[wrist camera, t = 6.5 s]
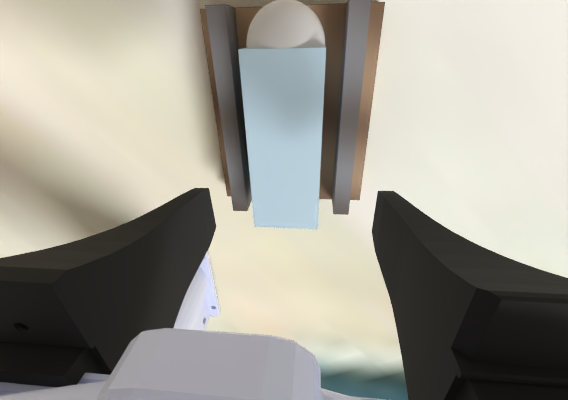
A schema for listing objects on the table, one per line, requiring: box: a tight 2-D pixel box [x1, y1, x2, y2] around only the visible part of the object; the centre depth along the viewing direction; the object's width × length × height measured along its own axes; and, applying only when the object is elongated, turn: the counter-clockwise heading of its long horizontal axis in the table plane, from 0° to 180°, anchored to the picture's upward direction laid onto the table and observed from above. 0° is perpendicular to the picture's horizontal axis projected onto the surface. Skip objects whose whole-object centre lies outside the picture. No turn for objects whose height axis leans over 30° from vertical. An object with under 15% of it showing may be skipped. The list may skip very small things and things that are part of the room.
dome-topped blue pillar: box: [238, 0, 326, 229], centre depth 17 cm, size 12×4×4 cm, turn 1°
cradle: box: [200, 0, 385, 215], centre depth 18 cm, size 12×10×3 cm
